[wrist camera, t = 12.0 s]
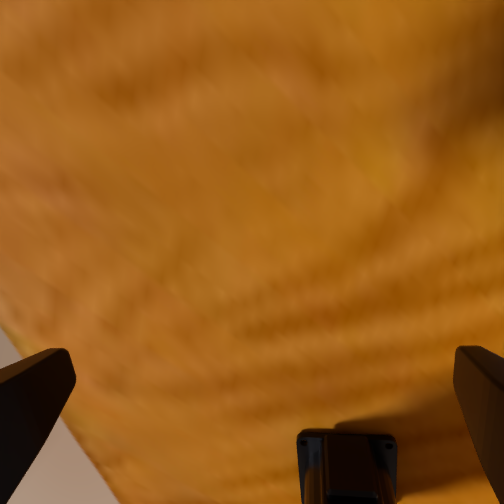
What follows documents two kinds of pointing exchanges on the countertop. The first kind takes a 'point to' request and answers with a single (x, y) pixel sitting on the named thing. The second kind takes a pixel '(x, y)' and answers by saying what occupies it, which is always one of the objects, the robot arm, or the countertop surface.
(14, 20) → the countertop surface
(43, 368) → the robot arm
